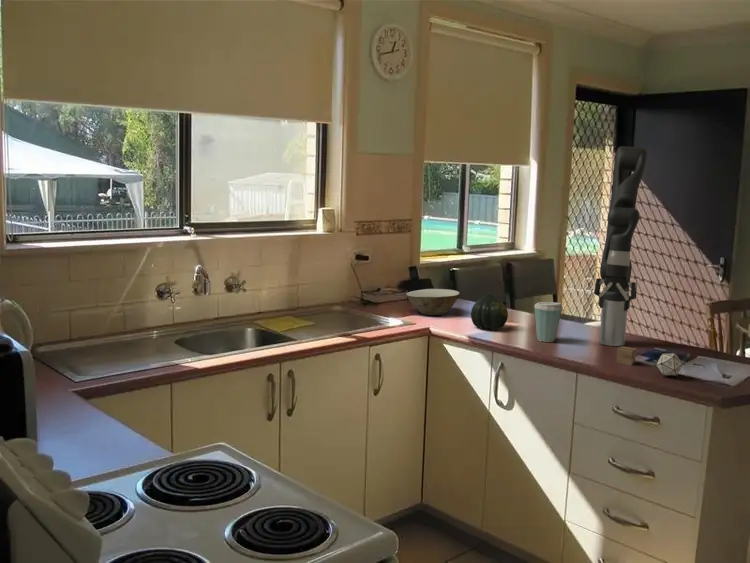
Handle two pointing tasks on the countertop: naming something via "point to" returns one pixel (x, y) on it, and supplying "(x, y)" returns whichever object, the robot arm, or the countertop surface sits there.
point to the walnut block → (626, 355)
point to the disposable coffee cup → (547, 320)
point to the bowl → (433, 300)
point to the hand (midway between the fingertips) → (613, 309)
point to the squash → (489, 313)
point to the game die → (669, 364)
